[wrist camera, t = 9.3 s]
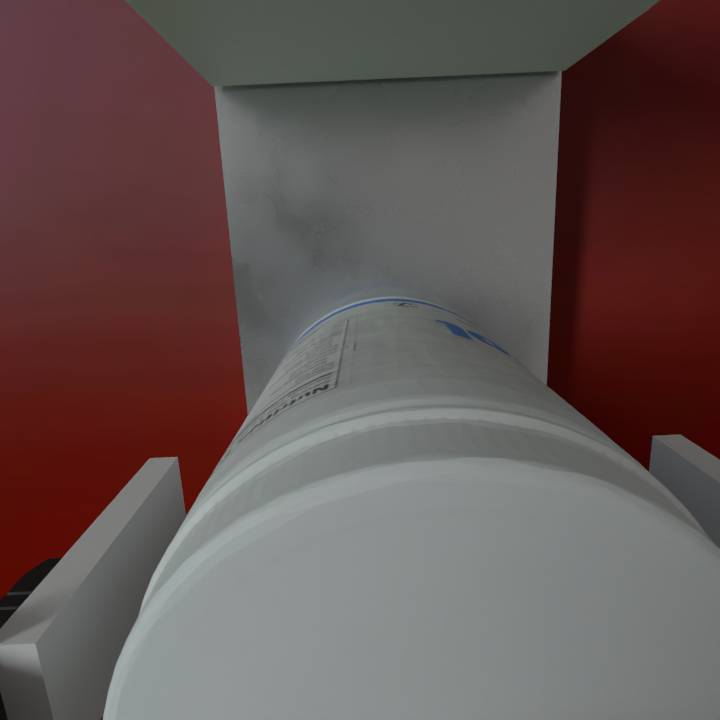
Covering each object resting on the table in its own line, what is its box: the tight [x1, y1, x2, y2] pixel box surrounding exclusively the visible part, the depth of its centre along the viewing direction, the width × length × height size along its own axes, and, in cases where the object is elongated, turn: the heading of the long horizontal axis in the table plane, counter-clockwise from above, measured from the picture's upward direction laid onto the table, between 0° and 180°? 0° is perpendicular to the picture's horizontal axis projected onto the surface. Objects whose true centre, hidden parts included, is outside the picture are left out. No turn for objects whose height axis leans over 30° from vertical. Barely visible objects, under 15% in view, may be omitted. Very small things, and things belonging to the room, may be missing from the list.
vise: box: [214, 71, 562, 415], centre depth 17 cm, size 26×12×11 cm, turn 3°
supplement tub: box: [103, 296, 720, 720], centre depth 14 cm, size 10×10×15 cm
